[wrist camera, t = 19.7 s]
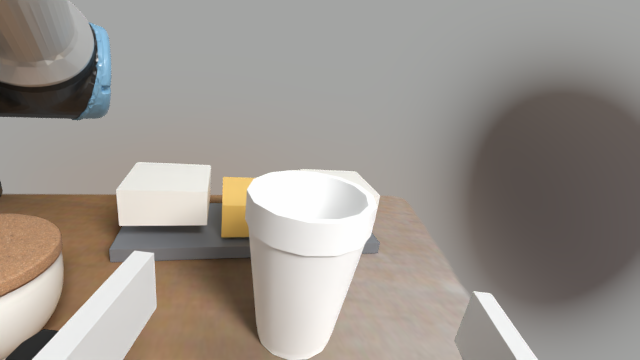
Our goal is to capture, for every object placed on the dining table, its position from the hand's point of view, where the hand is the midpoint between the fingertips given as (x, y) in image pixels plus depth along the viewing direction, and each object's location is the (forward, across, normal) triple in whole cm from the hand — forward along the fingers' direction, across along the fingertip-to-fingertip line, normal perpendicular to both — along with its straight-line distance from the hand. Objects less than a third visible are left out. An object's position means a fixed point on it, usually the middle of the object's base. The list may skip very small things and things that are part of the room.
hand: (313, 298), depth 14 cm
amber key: (+26, -6, -11) cm, 29 cm away
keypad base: (+26, -6, -13) cm, 30 cm away
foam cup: (+11, 0, -13) cm, 17 cm away
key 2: (+24, -16, -10) cm, 30 cm away
